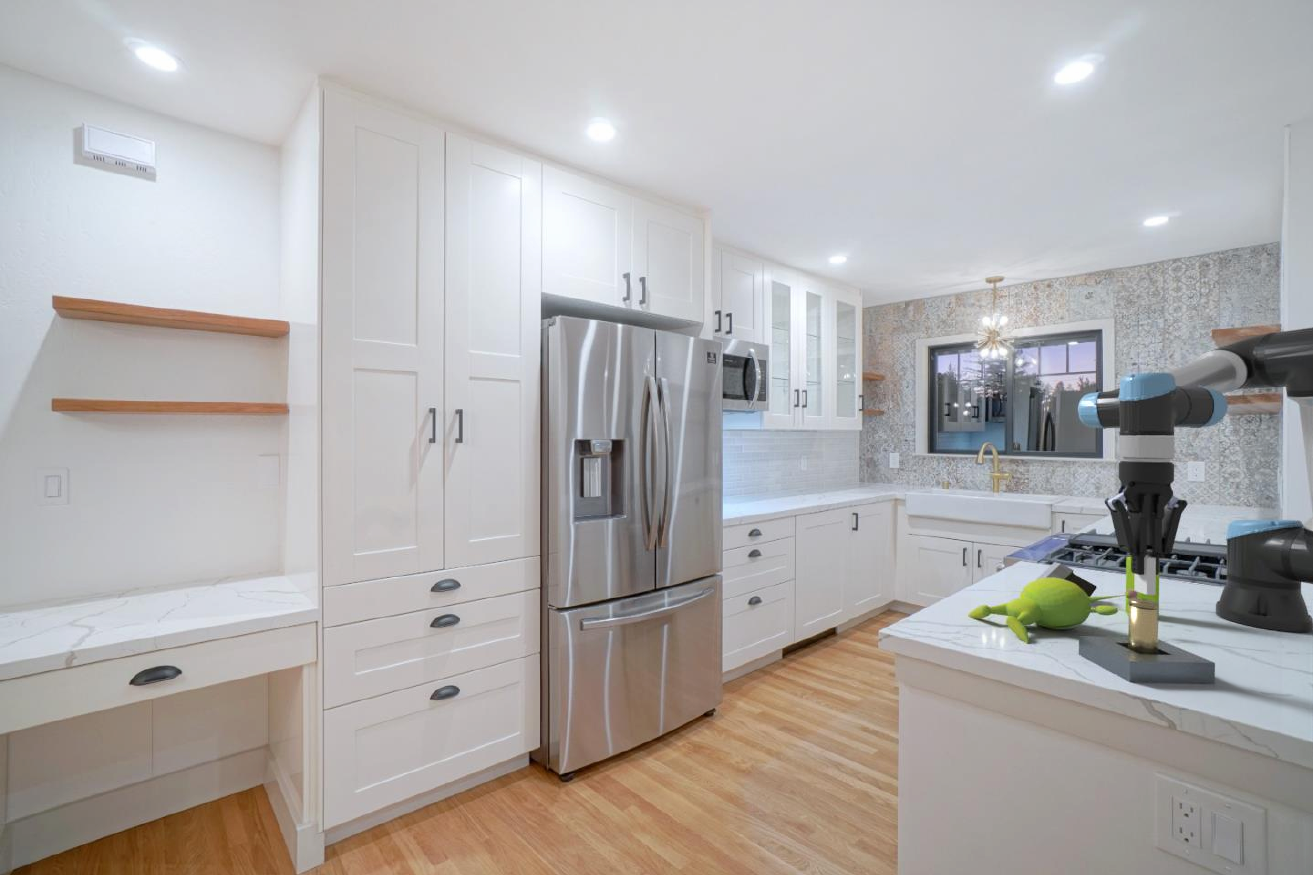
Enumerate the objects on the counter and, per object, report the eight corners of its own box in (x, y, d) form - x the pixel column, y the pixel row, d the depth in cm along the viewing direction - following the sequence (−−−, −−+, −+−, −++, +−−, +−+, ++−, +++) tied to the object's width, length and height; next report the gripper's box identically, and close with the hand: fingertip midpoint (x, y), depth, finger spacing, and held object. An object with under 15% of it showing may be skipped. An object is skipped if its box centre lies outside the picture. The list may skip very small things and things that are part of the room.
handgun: (1046, 626, 147) (1017, 591, 146) (1089, 586, 147) (1060, 551, 147) (1057, 631, 143) (1027, 595, 143) (1101, 590, 144) (1071, 554, 143)
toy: (1036, 660, 113) (1162, 623, 118) (1026, 608, 113) (1153, 573, 117) (966, 628, 132) (1076, 597, 137) (957, 584, 132) (1069, 554, 137)
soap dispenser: (1119, 609, 138) (1120, 526, 138) (1157, 614, 134) (1158, 529, 134) (1120, 615, 134) (1122, 529, 134) (1160, 621, 130) (1161, 532, 129)
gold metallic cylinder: (1144, 664, 104) (1145, 598, 104) (1163, 673, 100) (1164, 604, 100) (1122, 663, 105) (1123, 597, 105) (1140, 672, 101) (1141, 604, 101)
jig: (1154, 656, 108) (1154, 637, 108) (1214, 683, 96) (1215, 662, 96) (1078, 654, 109) (1079, 636, 109) (1129, 681, 97) (1129, 660, 97)
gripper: (1165, 459, 106) (1163, 587, 106) (1093, 459, 106) (1092, 586, 106) (1202, 461, 98) (1201, 599, 99) (1125, 461, 99) (1124, 598, 99)
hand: (1144, 592), depth 103 cm, fingers closed
